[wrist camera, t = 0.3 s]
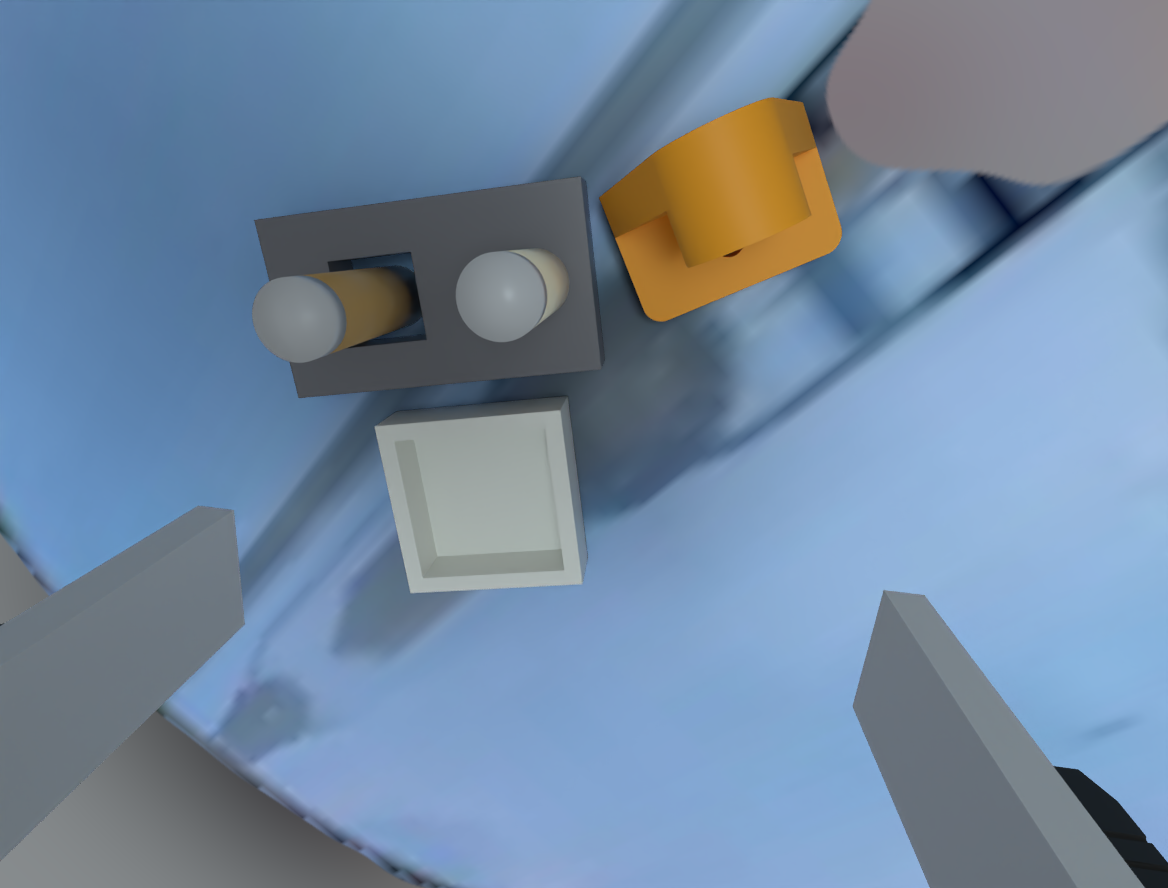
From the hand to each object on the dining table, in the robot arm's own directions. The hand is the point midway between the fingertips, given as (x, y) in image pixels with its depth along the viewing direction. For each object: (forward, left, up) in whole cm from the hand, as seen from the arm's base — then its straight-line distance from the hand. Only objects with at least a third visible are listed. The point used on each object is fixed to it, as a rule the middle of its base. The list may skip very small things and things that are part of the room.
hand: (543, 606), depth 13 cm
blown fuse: (-5, -13, -27) cm, 30 cm away
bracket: (-7, +6, -27) cm, 29 cm away
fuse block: (-5, -10, -27) cm, 29 cm away
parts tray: (+7, -9, -27) cm, 29 cm away
